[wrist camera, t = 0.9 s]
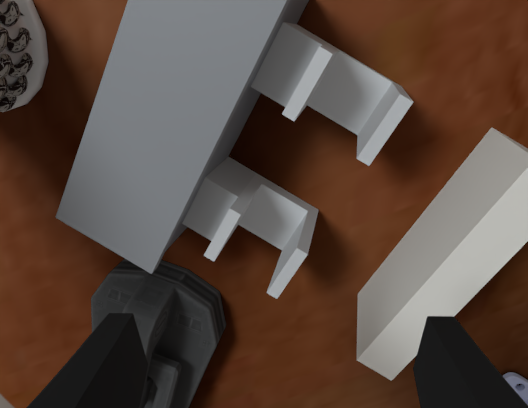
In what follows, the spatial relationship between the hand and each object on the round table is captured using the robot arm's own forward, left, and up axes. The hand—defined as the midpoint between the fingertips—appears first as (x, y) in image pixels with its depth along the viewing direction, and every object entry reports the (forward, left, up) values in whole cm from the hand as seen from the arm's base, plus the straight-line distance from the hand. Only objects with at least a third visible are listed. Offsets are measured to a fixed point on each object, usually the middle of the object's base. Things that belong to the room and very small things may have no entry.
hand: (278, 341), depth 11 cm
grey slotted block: (+5, 0, -14) cm, 15 cm away
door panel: (-7, 0, -15) cm, 16 cm away
